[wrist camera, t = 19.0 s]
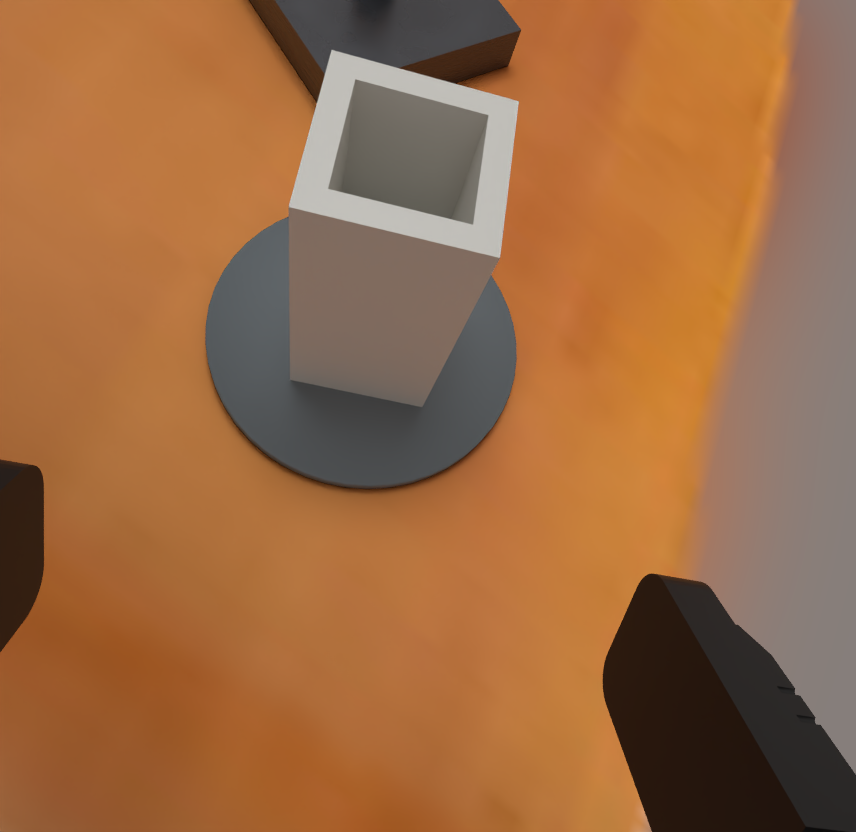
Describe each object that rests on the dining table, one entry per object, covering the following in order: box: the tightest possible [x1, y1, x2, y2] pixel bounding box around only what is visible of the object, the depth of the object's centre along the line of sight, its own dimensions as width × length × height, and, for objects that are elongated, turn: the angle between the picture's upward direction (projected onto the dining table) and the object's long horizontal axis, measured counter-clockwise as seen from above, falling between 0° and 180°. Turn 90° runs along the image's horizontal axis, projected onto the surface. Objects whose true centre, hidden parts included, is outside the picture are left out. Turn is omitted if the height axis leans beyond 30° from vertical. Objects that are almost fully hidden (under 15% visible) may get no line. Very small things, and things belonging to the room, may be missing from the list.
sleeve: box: [289, 50, 519, 407], centre depth 21 cm, size 5×5×10 cm
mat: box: [206, 217, 516, 489], centre depth 26 cm, size 12×12×1 cm
